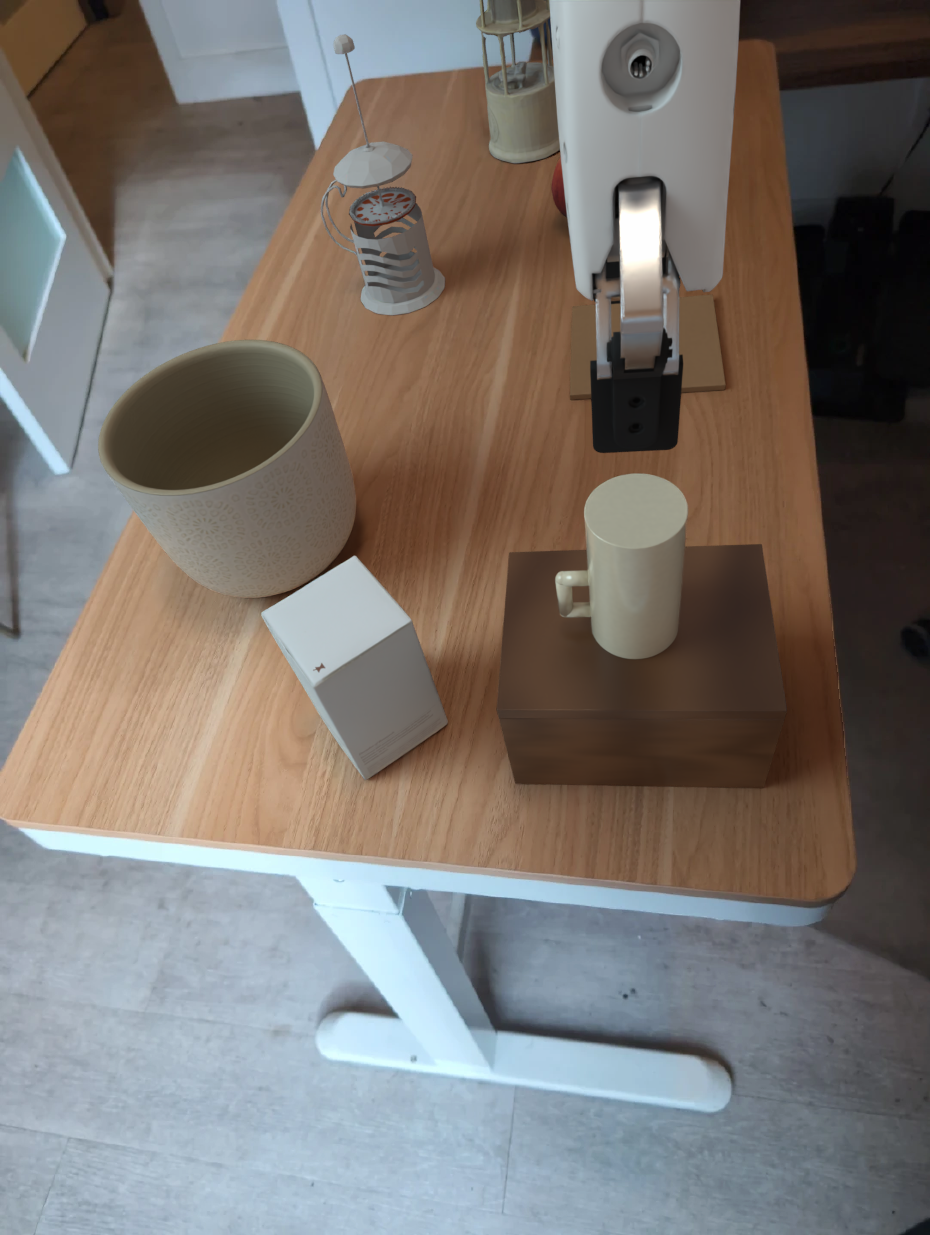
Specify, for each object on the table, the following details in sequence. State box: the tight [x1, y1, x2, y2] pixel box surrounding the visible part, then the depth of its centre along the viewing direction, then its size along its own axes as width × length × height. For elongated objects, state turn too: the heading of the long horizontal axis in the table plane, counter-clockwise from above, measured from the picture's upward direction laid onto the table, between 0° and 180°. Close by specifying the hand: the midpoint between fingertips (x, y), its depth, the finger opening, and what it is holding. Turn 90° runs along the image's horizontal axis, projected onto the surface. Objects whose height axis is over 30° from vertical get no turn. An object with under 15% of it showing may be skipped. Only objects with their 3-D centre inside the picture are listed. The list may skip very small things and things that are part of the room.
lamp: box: [475, 0, 560, 164], centre depth 98 cm, size 10×13×30 cm
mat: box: [569, 293, 726, 401], centre depth 81 cm, size 14×14×1 cm
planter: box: [97, 339, 357, 599], centre depth 67 cm, size 17×17×15 cm
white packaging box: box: [260, 555, 449, 781], centre depth 56 cm, size 7×7×13 cm
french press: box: [320, 33, 446, 316], centre depth 84 cm, size 10×12×25 cm
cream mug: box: [555, 472, 689, 659], centre depth 46 cm, size 7×5×10 cm
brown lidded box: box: [496, 543, 788, 789], centre depth 54 cm, size 16×12×10 cm
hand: (631, 367), depth 35 cm, fingers open, 9 cm apart
